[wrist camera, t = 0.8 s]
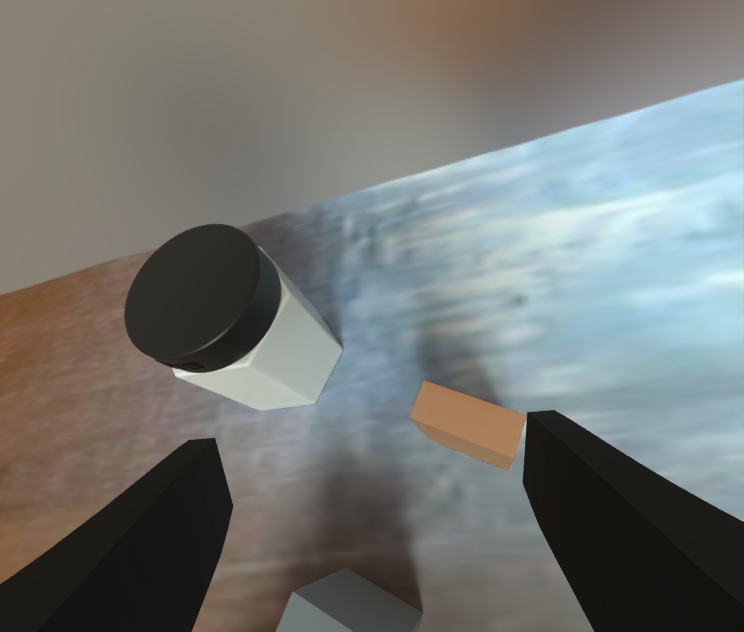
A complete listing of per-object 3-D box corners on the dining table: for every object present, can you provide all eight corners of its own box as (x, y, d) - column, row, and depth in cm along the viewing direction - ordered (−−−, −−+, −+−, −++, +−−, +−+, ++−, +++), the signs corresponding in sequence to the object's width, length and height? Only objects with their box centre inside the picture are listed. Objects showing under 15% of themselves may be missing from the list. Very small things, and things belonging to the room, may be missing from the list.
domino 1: (346, 567, 24) (292, 591, 17) (423, 612, 22) (395, 659, 15) (332, 603, 23) (271, 642, 17) (410, 653, 21) (375, 719, 15)
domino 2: (439, 410, 26) (423, 379, 20) (516, 439, 24) (526, 415, 18) (429, 439, 26) (409, 417, 19) (507, 471, 24) (514, 458, 17)
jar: (227, 347, 33) (106, 275, 23) (306, 291, 33) (222, 194, 23) (269, 437, 29) (144, 400, 18) (360, 371, 29) (287, 297, 18)
